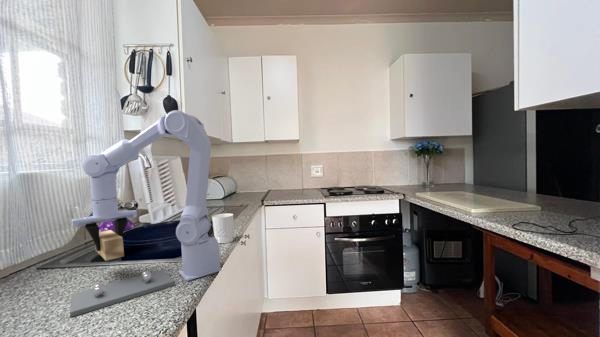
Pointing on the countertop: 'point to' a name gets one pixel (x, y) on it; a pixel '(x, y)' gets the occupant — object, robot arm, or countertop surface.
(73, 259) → the countertop surface
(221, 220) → the white cup
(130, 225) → the decorative mushroom
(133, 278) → the flat gray rectangular plate
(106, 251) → the board
